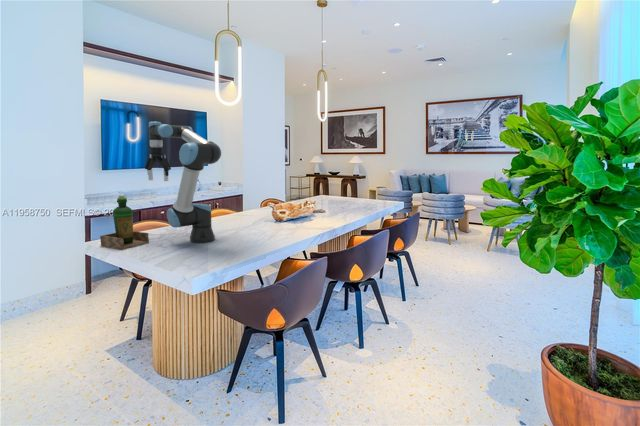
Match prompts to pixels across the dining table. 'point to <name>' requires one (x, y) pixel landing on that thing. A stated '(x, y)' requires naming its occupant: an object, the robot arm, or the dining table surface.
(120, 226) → the bottle
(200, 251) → the dining table surface
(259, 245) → the dining table surface
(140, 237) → the tray
